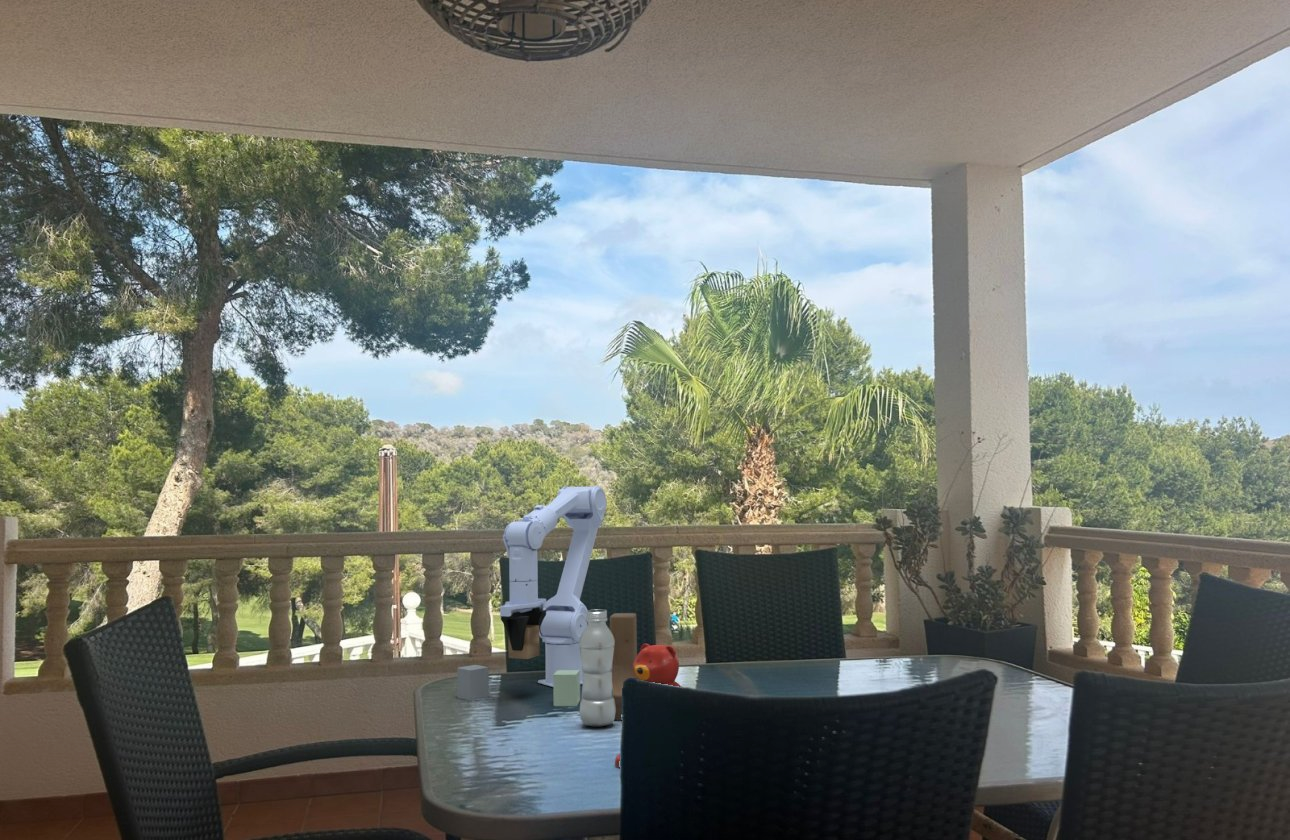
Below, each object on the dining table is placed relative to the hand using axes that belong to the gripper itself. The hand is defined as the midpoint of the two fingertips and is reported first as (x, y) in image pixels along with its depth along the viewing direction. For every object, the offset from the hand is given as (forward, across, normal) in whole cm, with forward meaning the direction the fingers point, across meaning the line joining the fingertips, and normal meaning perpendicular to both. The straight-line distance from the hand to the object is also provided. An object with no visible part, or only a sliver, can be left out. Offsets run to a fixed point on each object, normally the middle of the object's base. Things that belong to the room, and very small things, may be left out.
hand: (524, 648), depth 189 cm
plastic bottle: (+10, +15, +25) cm, 31 cm away
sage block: (+10, +2, +11) cm, 15 cm away
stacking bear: (+10, +34, +44) cm, 56 cm away
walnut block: (+2, 0, 0) cm, 2 cm away
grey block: (+10, +3, -10) cm, 14 cm away
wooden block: (+10, +6, +25) cm, 28 cm away
